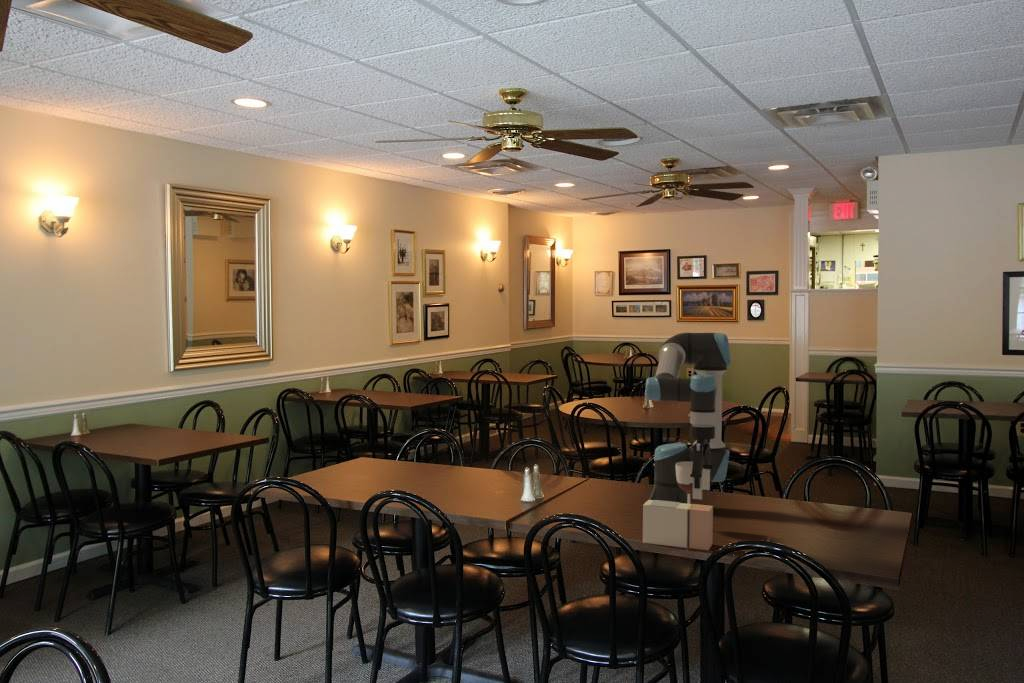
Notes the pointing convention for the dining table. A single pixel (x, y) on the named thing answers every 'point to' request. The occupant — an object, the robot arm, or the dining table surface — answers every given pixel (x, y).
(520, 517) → the dining table surface
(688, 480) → the wineglass
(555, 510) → the dining table surface
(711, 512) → the stub
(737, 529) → the dining table surface
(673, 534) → the beige rectangular block
